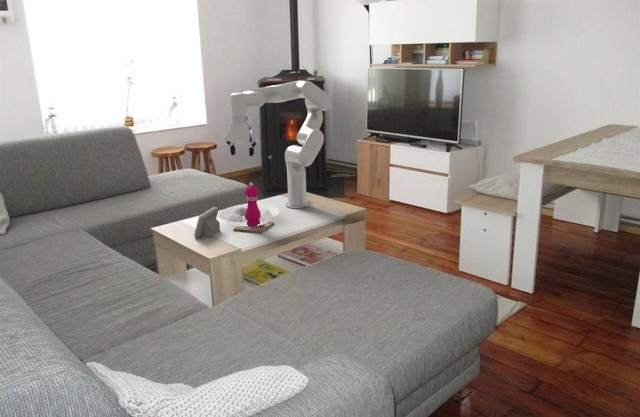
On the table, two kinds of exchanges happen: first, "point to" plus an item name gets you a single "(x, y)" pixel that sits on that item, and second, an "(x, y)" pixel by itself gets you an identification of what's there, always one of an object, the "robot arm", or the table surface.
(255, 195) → the pepper mill
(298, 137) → the robot arm
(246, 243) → the table surface
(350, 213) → the table surface
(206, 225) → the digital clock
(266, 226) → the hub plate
